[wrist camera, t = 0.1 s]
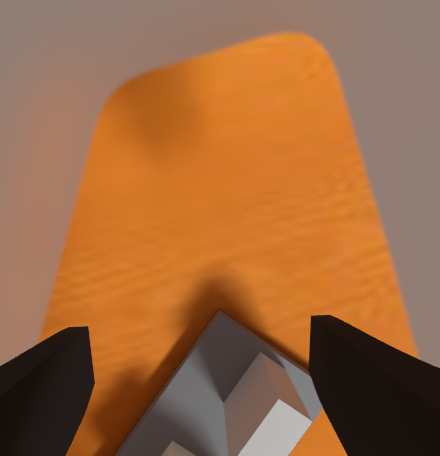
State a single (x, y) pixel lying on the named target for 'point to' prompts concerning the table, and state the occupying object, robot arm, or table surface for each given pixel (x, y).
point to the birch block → (176, 450)
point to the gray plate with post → (228, 399)
